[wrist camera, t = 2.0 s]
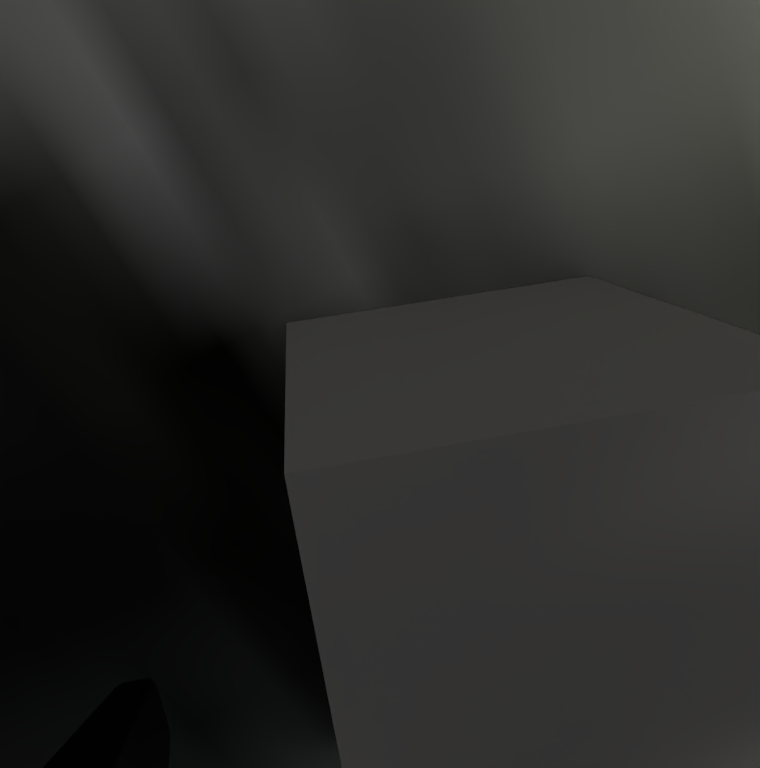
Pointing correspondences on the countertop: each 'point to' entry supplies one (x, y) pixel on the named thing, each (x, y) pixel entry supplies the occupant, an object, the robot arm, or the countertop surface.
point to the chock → (531, 529)
